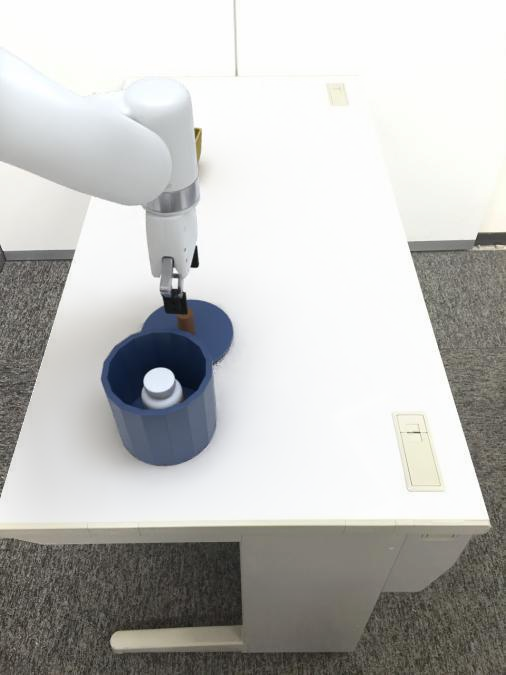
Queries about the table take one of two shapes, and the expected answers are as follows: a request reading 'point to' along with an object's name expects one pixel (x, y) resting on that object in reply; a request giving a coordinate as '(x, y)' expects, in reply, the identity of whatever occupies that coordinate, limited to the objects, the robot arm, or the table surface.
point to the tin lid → (198, 325)
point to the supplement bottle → (161, 389)
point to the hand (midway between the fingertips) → (183, 288)
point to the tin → (170, 423)
